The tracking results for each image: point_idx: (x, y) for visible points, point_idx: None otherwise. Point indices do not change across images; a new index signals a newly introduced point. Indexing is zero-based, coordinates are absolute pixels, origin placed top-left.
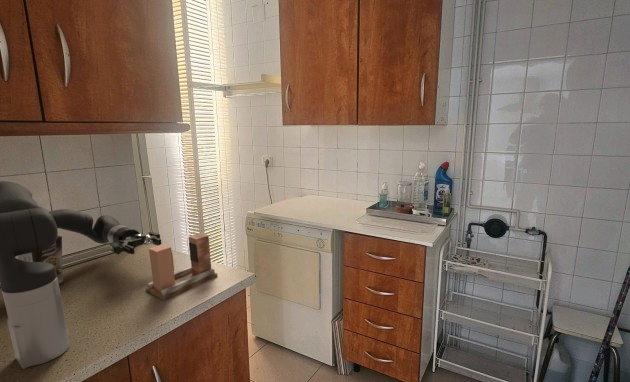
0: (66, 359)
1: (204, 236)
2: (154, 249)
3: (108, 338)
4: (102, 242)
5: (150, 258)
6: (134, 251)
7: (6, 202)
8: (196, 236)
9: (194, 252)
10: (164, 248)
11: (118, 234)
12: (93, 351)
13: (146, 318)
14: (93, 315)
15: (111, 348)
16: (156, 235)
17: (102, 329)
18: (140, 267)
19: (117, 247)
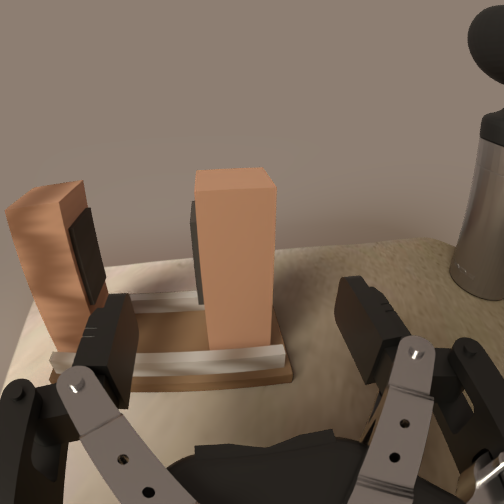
0: (441, 255)
1: (46, 186)
2: (259, 176)
3: (392, 261)
4: None
5: (274, 235)
6: (336, 301)
7: None
8: (51, 193)
9: (93, 245)
10: (222, 171)
11: None
12: (409, 250)
13: (324, 271)
14: (441, 338)
15: (384, 244)
16: (37, 395)
17: (408, 284)
18: None
19: (465, 340)
